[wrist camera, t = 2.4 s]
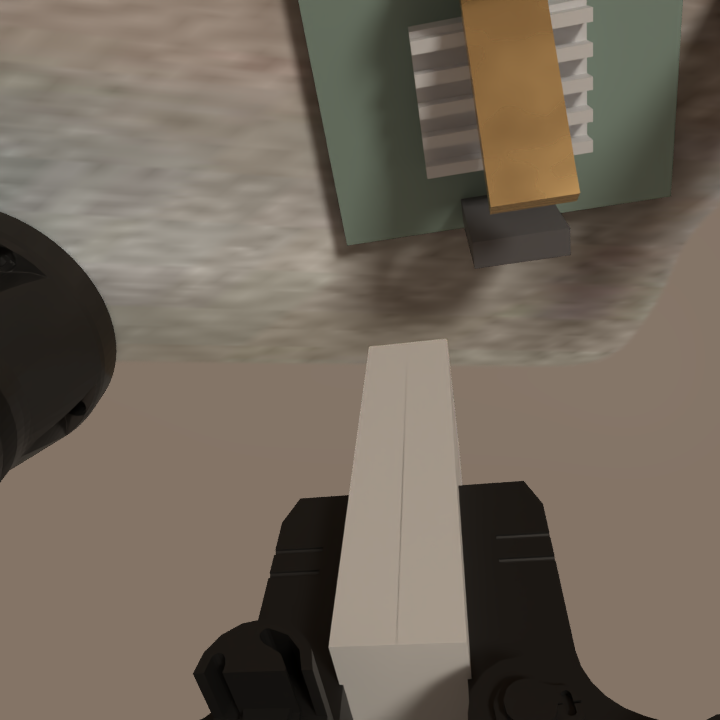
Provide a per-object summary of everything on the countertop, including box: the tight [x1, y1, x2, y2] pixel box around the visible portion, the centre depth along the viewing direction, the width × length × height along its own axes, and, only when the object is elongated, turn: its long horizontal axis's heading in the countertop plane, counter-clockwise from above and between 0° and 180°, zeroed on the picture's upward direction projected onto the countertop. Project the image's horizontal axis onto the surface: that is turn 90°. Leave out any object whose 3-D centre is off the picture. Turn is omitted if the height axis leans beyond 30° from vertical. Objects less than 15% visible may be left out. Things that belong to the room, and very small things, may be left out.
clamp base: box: [298, 0, 683, 269], centre depth 28 cm, size 16×14×7 cm
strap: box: [459, 0, 580, 214], centre depth 24 cm, size 4×10×1 cm
